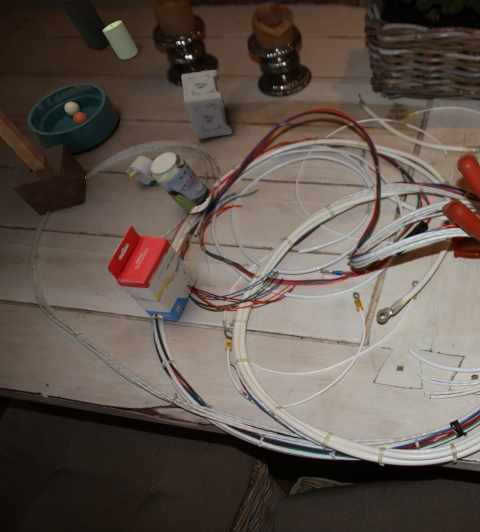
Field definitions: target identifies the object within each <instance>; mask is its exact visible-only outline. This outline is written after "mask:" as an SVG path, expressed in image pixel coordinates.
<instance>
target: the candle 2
mask: <svg viewBox="0 0 480 532" xmlns="http://www.w3.org/2000/svg"><path fill="white" fill-rule="evenodd" d="M103 32H104V34H105V36H106V37H107V39H108V41H109V42H110V43H109V44H110V46H111V48H112V50H113V51H114V52H115V54H116V55H117V58H118V59H120V60H130V59H132V58H134V57H136V55H138V53H139V50H138V47H137V45H136V44H135V42H134V40H133V39H132V37H131V35H130V32H129V31H128V29H127V28H126V26H125V24H124V23H123V21H122V20H116V21H114V22H112V23H110V24H108V25H107V26H106V28H104V30H103Z"/></svg>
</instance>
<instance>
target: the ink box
mask: <svg viewBox="0 0 480 532" xmlns="http://www.w3.org/2000/svg"><path fill="white" fill-rule="evenodd" d="M126 246H127V247H126ZM125 247H126V249H125ZM123 249H125V250H124V252H123V254H122V250H123ZM121 254H122V256H121ZM120 256H121V258H120ZM106 271H108V273H110V275H111V276H112V277H113V278H114V279H115V282H116V283H117V284H118V285H119V286H120V287H121V288H122V289H123V290H124V291H125V293H127V294H128V295H129V296H130V297H131V298H132V299H133V300H134V301H135V303H137V304H138V306H140V307H141V308H142V309H143V310H144V311H145V312H146V313H147V314H148V316H150V317H151V318H152V316H153V315H154V314H158V315H161V316H163V318H164V319H163V320H166V319H169V320H168V321H179V320H180V317H181V316H182V313H183V310H184V309H185V306H186V304H187V302H188V300H189V298H188V296H189V297H190V295H188V294H189V292H190V291H189V290H188V286H187V285H190V286H193V284H194V282H195V280H196V279H197V278H196V276H195V275H194V274H193V272H192V271H191V269H190V268H189V267H188V265H187V264H186V262H184V260H183V259H182V257H181V255H179V253H178V252H177V251H176V249H175V248H174V246H172V244H171V243H170V241H169V240H168V238H167V237H166V238H165V237H159V236H158V237H157V236H145V235H141V236H140V235H139V233H138V232H137V231H136V229H135V227H134V226H133V225H130V226H129V227H128V228H127V230H126V232H125V234H124V236H123V237H122V239H121V240H120V242H119V244H118V245H117V247H116V249H115V251H114V253H113V254H112V256H111V258H110V260H109V262H108V264H107V265H106ZM196 281H197V280H196ZM195 283H196V282H195ZM194 285H195V284H194ZM187 299H188V300H187ZM183 308H184V309H183Z"/></svg>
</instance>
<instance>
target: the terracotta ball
mask: <svg viewBox="0 0 480 532" xmlns="http://www.w3.org/2000/svg"><path fill="white" fill-rule="evenodd" d="M88 119H89V118H88V116H87V115H86V114H85V113H83V112H78V113H76V114H74V116H73V121H74V123H75V124H76V125H80V124H82V123H83V122H85V121H87V120H88Z"/></svg>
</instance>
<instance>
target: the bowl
mask: <svg viewBox="0 0 480 532" xmlns="http://www.w3.org/2000/svg"><path fill="white" fill-rule="evenodd" d="M68 102H75V103H77V104H78V105H79V107H80V112H83V113H85V114H86V115H87V116H88V118H89V119H88V120H87V121H85V122H83V123H82V124H80V125H76V124H75V123H74V121H73V116H71V115H69V114H67V113H66V111H65V105H66V104H67V103H68ZM118 121H119V112H118V110H117V108H116V106H115V105H114V103H113V102H112V101H111V99H110V98H109V96H108V94H107V93H106V91H105V89H103V88H102V87H101V86H99V85H97V84H94V83H91V82H90V83H89V82H79V83H73V84H68V85H65V86H62V87H60V88H57V89H54V90H53V91H51V92H49V93H48V94H46V95H45V96H43V97H42V98H41V99H39V100H38V101H37V102H36V103H35V105H34V106H32V107H31V110H30V111H29V113H28V116H27V121H26V123H27V126H28V128H29V130H31V131H32V132H33V133H34V135H35V136H36V137H37V138H38V140H39V141H40V142H41V143H42V144H43V145H44V147H45V148H50V147H54V146H57V145H61V144H63V145H64V146H65V147H66V148H67V150H68V151H69V152H70V153H71V154H77V153H82V152H86V151H88V150H90V149H92V148H94V147H96V146H98V145H100V144H101V143H103V142H104V141H105V140H106V139H108V138H109V137H110V136H111V134H112V133H113V131H114V130H115V128H116V126H117V125H118Z"/></svg>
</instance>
